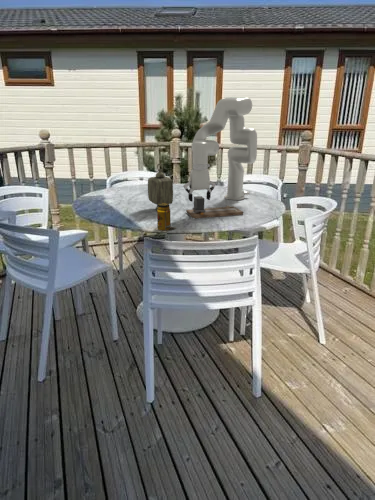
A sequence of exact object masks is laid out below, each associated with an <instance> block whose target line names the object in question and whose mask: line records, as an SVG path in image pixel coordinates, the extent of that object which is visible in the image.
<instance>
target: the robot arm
mask: <svg viewBox="0 0 375 500" xmlns="http://www.w3.org/2000/svg"><path fill="white" fill-rule="evenodd" d="M252 101H253V100H252V99H251V98H249V97H235V96H234V97H233V96H232V97H224V98H221V99H219V100H218V101H217V103H216V105H215V108H214V110H213V112H212V115H211V117H210V120H209V121H208V122H206V123H205V124H204V125H203V126H201V127H200V128H199V129H197V131H196V133H195V135H194V137H193V138H192V139H193V140H192V143H191V151H192V169H191V170H190V173H189V174H190V175H189V181H188V182H186V183H185V184H183V188H184V190H185V192H187V193H188V195H187V197H188V200H189V201H190V203H191V202H193V192H194V191H201V190H202V191H203V190H206V200H207V201H210V200H211V198H212V197H211V195H212V191H213V190H214V189H215V187H216V185H217V184H216V183H215V182H213V181H211V180H210V179H211V178H210V177H211V176H210V171H209V168H210V167H211V164H210V163H208V162H209V161H208V158H209V156H211V157H212V156H216V155H217V154H218V153H219V150H220V144H219V142H218V141H216V140H212V139H207V138H208V137H209V136H212V135H215V134H217V133H219V132H222V131H224V130H225V127H226V125H227V122H228V120H229V140H230V143H231V144H233V145H234V146H231V147H229V148H228V151H227V160H228V168H227V169H228V173H227V192H226V194H225V195H224V198H225V200H230V201H242V200H244V199H245V198H246V197H245V196H248V195H250V191H246V190H244V178H245V177H244V175H245V169H244V166H243V164H250V165H251V164H254V163H255V162H256V161H257V155H258V133H257V131H256V129H255V128H254V127H253V128H252V127H246V126H245V117H244V116H247V115H248V114H250V113H251V111H252V110H253V108H252V107H253V102H252ZM238 145H239V146H238ZM241 145H242V146H241ZM188 187H189V188H188Z"/></svg>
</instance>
